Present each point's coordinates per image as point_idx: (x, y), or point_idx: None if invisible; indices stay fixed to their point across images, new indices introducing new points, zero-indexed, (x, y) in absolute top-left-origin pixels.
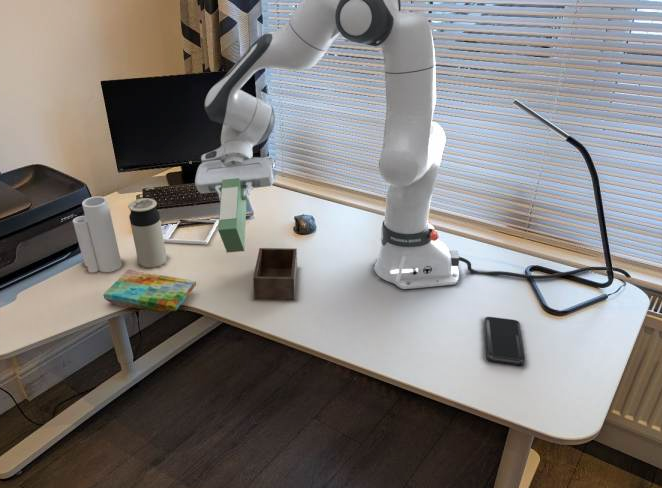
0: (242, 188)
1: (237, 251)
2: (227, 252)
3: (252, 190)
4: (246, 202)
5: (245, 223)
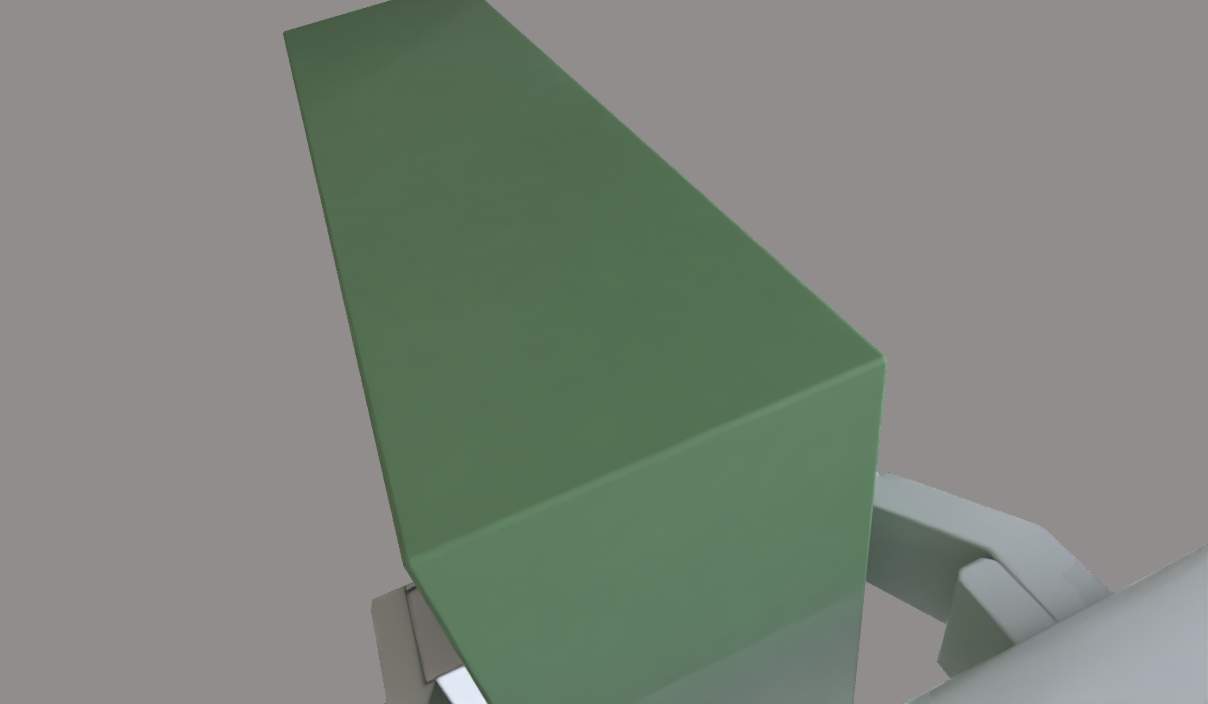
0: (914, 702)
1: (394, 2)
2: (289, 32)
3: (1025, 524)
4: (873, 347)
5: (591, 99)
